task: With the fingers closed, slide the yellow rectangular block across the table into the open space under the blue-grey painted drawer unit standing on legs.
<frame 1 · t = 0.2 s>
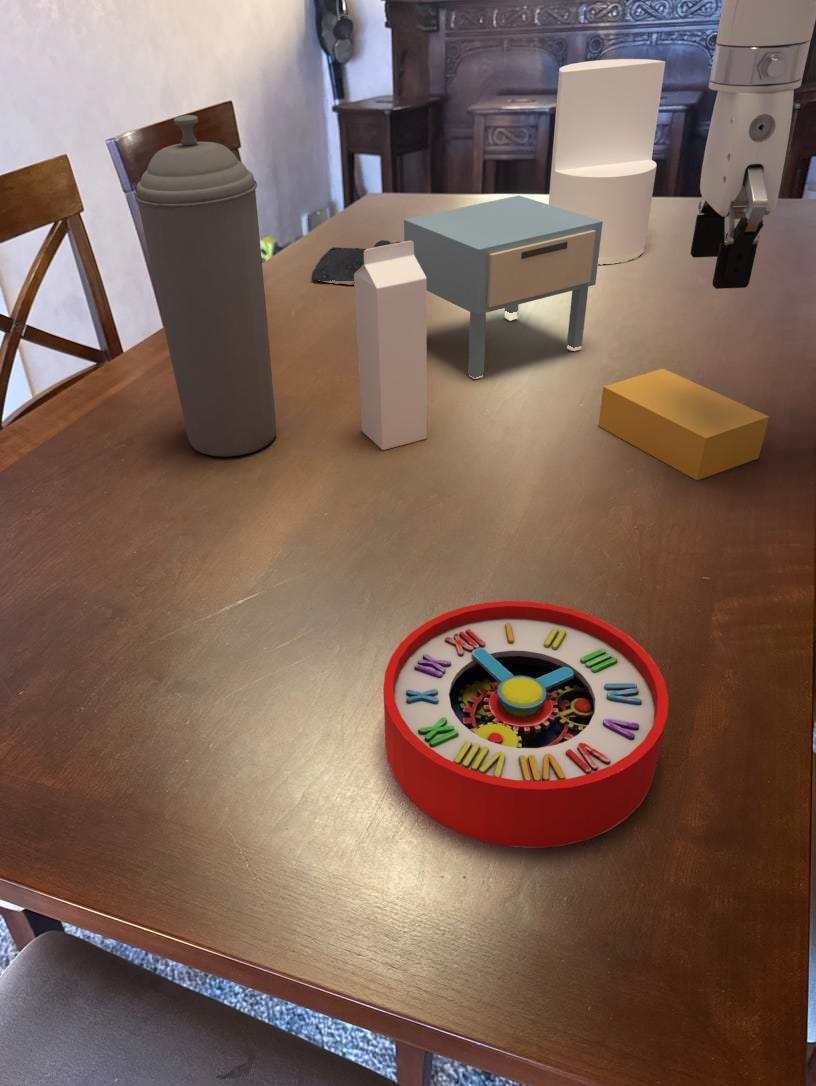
hand: (717, 271, 88), 20 cm above the table, tool pointing down, fingers open, 9 cm apart
toy clock: (517, 743, 68), on the table
dark slate chunk: (378, 274, 158), on the table
milk: (393, 436, 109), on the table
canister: (233, 440, 111), on the table
cylinder: (593, 251, 160), on the table
yellow rectangular block: (675, 441, 103), on the table
drawer unit: (494, 346, 128), on the table
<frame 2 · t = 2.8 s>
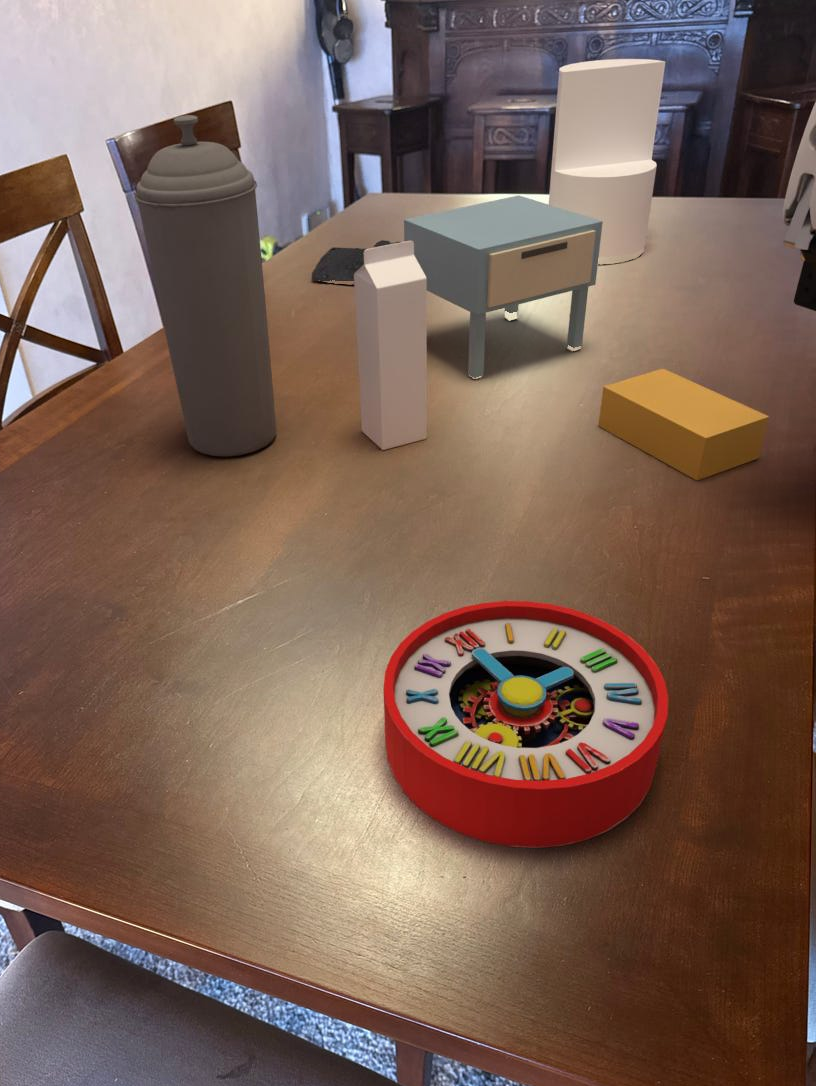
hand: (813, 306, 82), 19 cm above the table, tool pointing down, fingers closed
nothing on the table moved.
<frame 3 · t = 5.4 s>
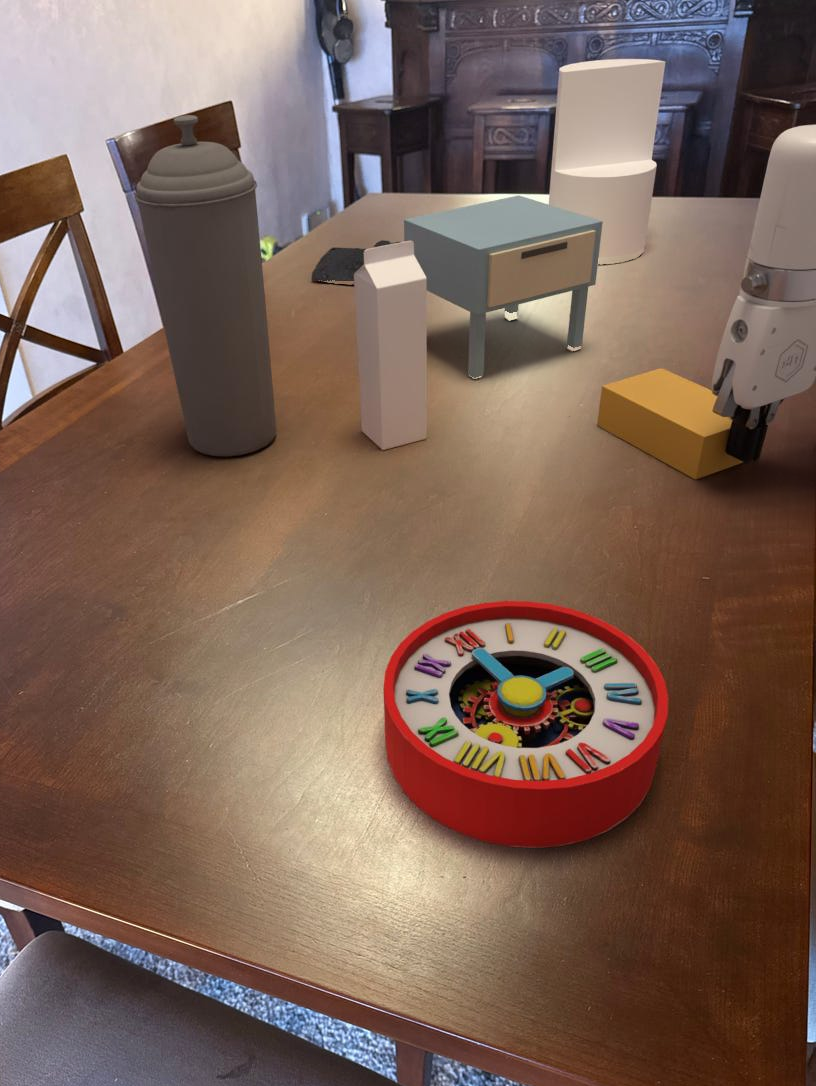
hand: (741, 456, 95), 2 cm above the table, tool pointing down, fingers closed
yellow rectangular block: (673, 440, 103), on the table, touching gripper
everything else where it was.
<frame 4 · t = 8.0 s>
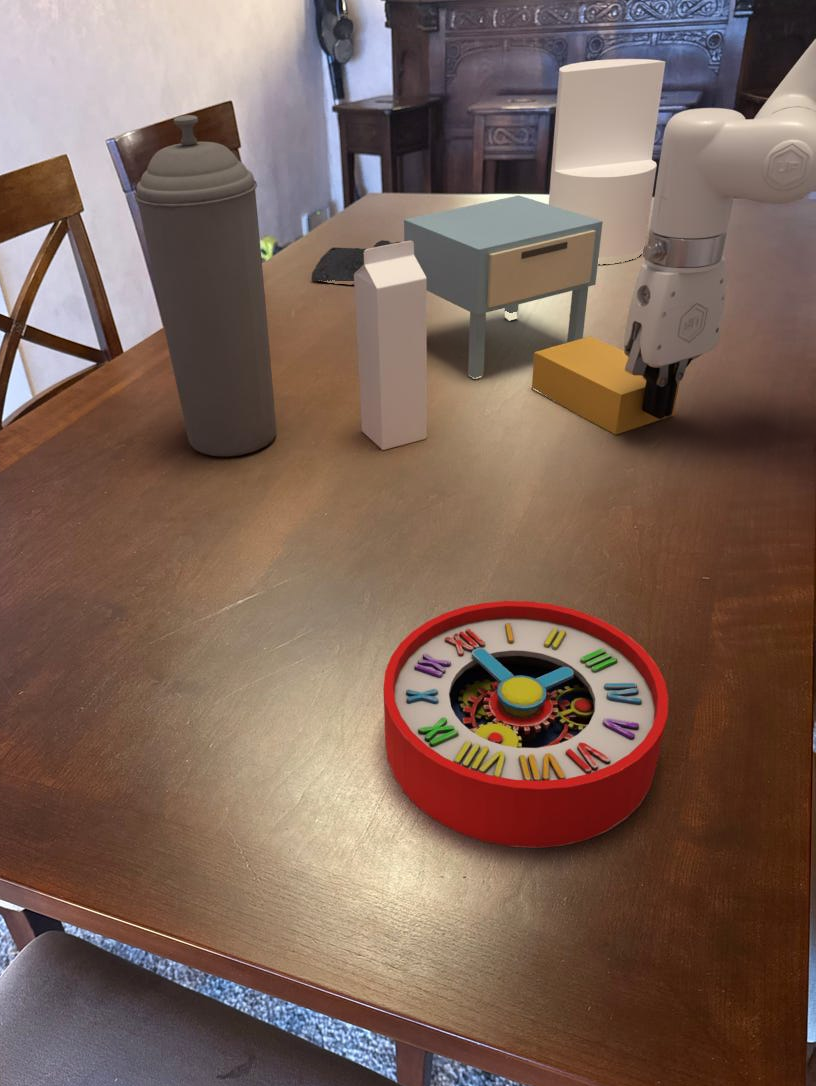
hand: (656, 413, 104), 2 cm above the table, tool pointing down, fingers closed
yellow rectangular block: (599, 402, 112), on the table, touching gripper
everything else where it was.
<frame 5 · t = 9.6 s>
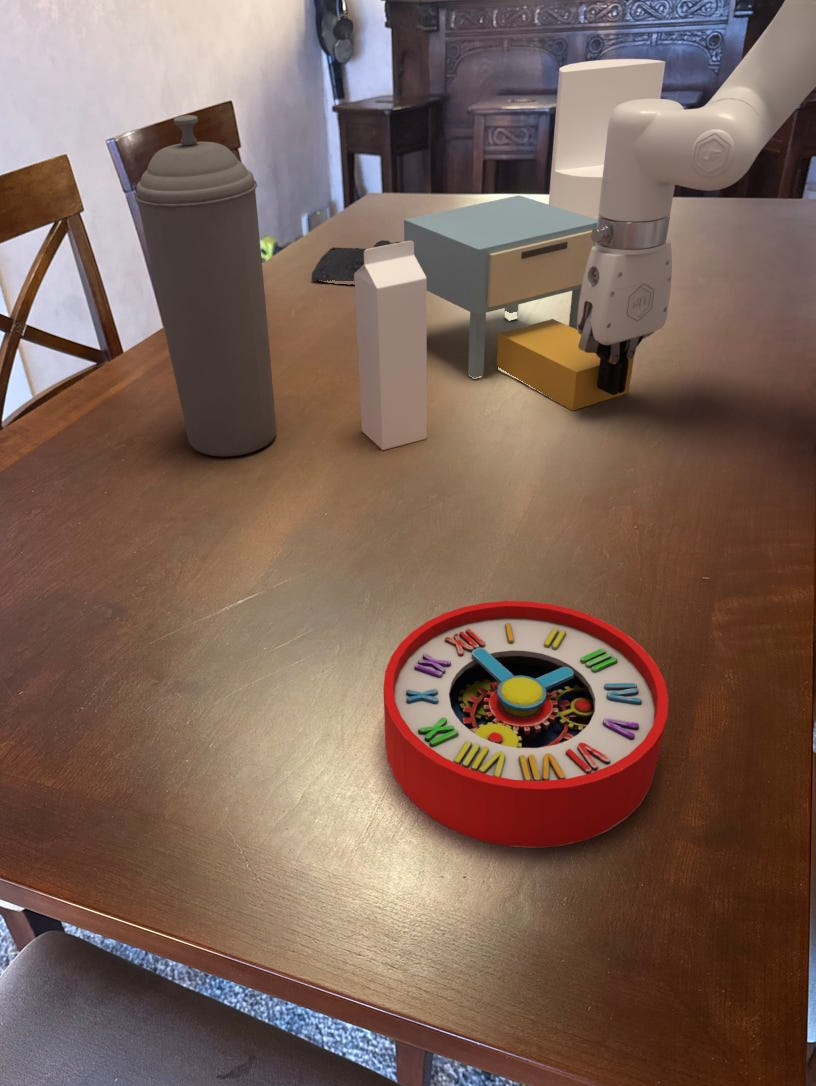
hand: (610, 389, 110), 2 cm above the table, tool pointing down, fingers closed
yellow rectangular block: (560, 381, 118), on the table, touching gripper
everything else where it was.
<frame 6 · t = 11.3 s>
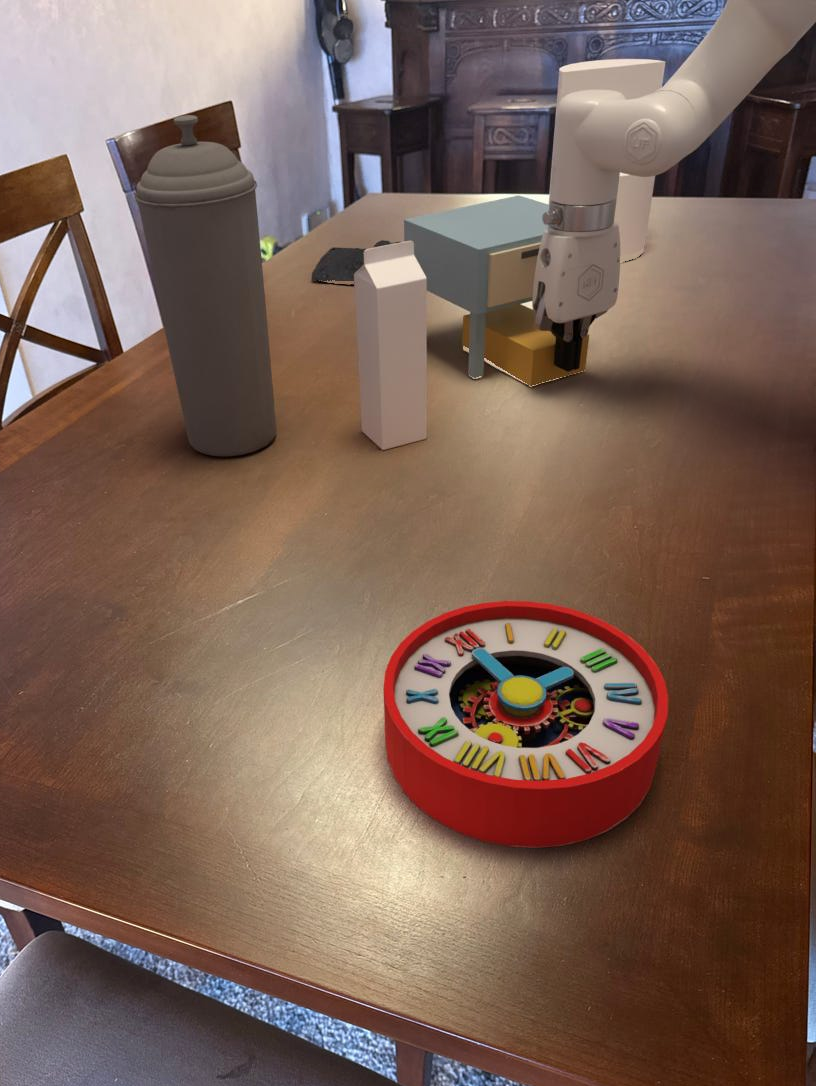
hand: (566, 366, 116), 2 cm above the table, tool pointing down, fingers closed
yellow rectangular block: (521, 360, 124), on the table, touching gripper
everything else where it was.
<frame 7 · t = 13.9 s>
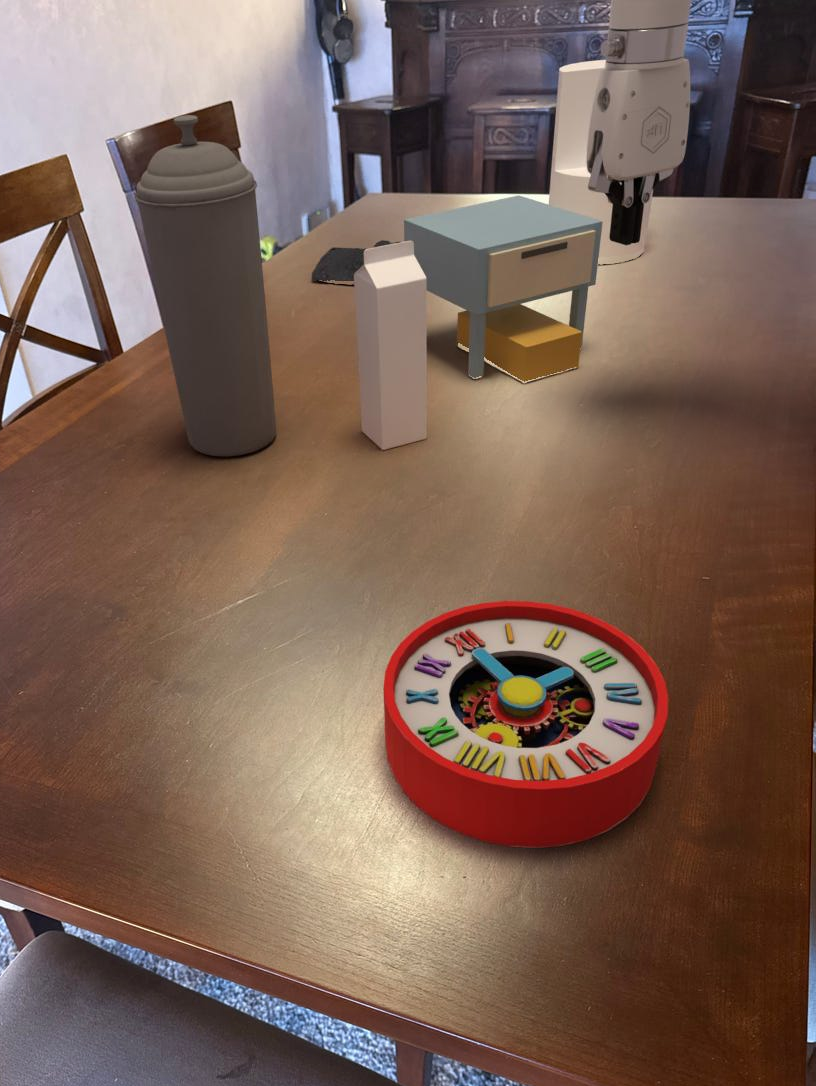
hand: (624, 241, 101), 19 cm above the table, tool pointing down, fingers closed
yellow rectangular block: (515, 357, 125), on the table
everything else where it was.
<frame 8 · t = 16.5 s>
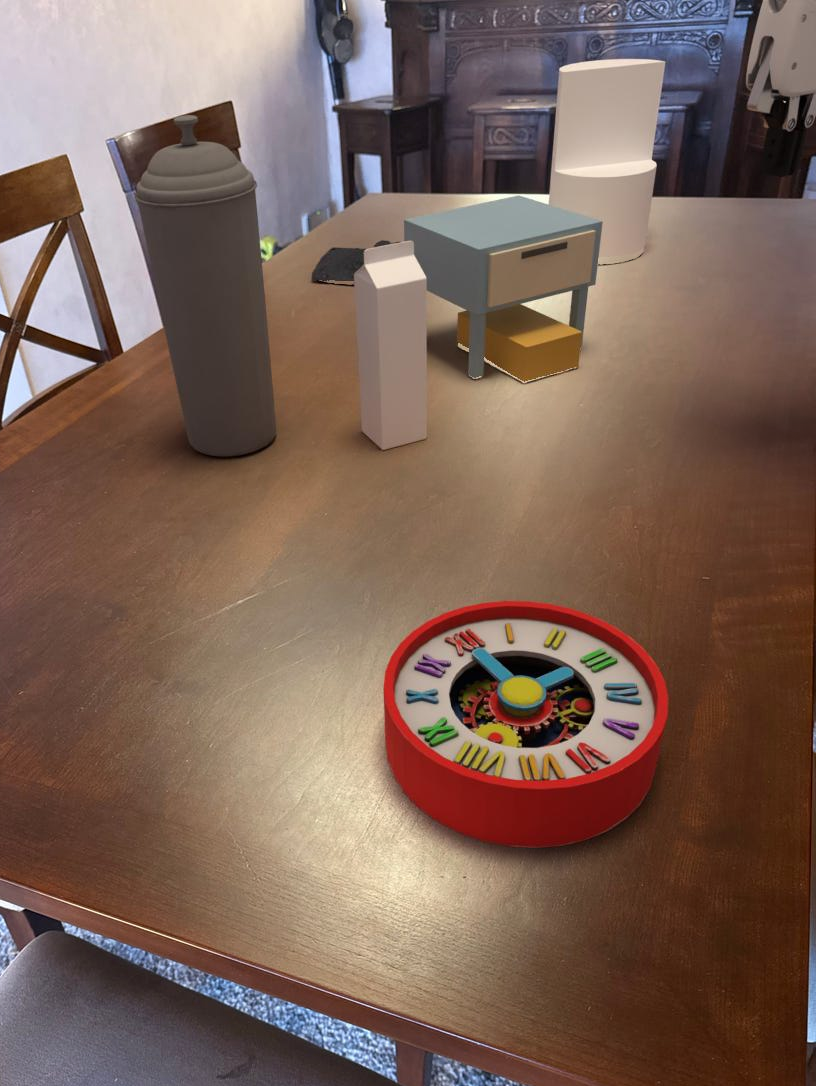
hand: (777, 173, 88), 27 cm above the table, tool pointing down, fingers closed
nothing on the table moved.
at the end: yellow rectangular block 5.1 cm from the drawer unit (horizontally); yellow rectangular block on the table; yellow rectangular block tilted 0° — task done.
